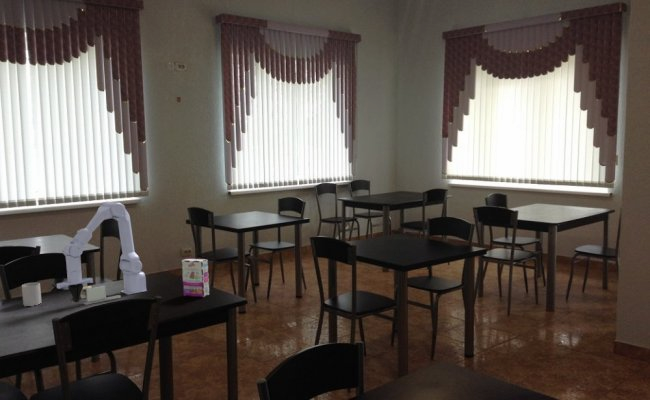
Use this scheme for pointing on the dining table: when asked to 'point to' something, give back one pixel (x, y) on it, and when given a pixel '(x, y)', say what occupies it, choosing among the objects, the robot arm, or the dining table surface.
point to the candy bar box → (195, 277)
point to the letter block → (84, 291)
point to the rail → (102, 300)
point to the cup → (31, 294)
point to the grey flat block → (95, 293)
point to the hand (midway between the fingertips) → (76, 301)
